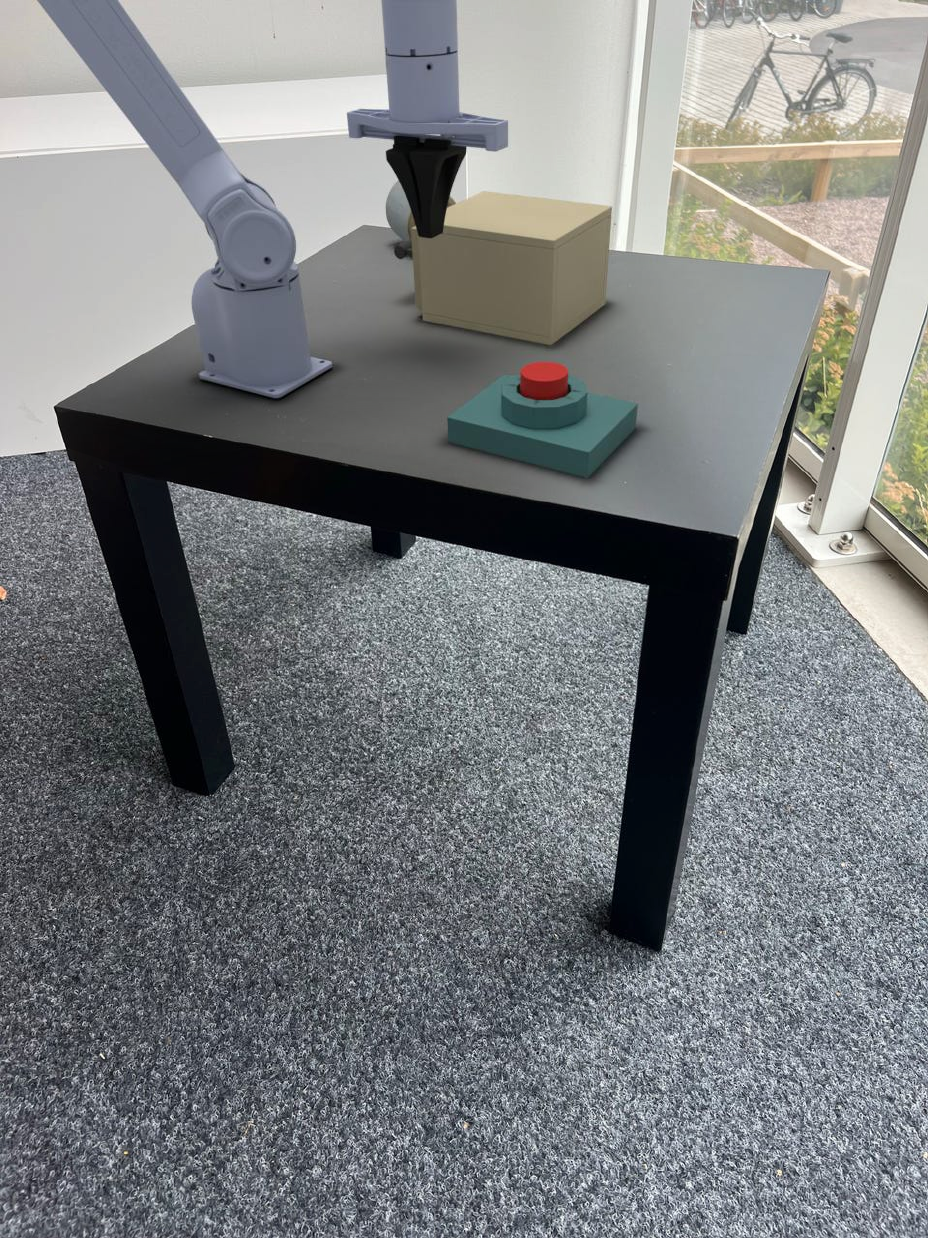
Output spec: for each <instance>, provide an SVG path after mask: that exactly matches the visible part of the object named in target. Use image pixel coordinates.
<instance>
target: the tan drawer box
mask: <svg viewBox="0 0 928 1238" xmlns="http://www.w3.org/2000/svg"><path fill="white" fill-rule="evenodd" d="M612 214H613V206H612V205H605V204H598V203H597V204H596V203H595V204H594V203H587V202H579V201H570V200H563V199H552V198H545V197H536V196H529V195H519V194H511V193H503V192H495V191H485V190H483V191H481V192H479V193H476V194H474V195H472V196H469V197H468V198H466V199H463V200H461V201H459V202H456V204H454V205H452V206H450V207H448V208H447V210H446V215H445V221H444V228H443V233H442V234H440V235H438V236H436V237H433V238H424V237H419V236H418V242H419V259H420V276H421V293H422V309H421V310H422V321H423V322H427V323H431V324H432V323H433V324H438V325H445V326H450V327H455V328H461V329H465V330H471V331H475V332H481V333H486V334H492V335H497V336H500V337H501V336H502V337H507V338H513V339H518V340H522V341H527V342H532V343H537V344H543V345H548V346H552V345H553V344H555V343H556V342H558V341H559V340H560V339H561V338H563V337H564V336H565V335H566V334H569V333H570V332H571V331H572V330H574V329H575V328H576V327H577V326H579V325H580V324H582V323H583V322H584V321H585V320H587V319H588V318H590V317H591V316H593V314H595V313H596V312H597V311H598V310H600V309H601V308H603V307H604V306H605V305H606V303H607V302H606V300H607V285H608V273H609V272H608V270H609V259H610V257H609V256H610V243H611V242H610V241H611V230H612Z"/></svg>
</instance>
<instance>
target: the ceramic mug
mask: <svg viewBox="0 0 928 1238" xmlns="http://www.w3.org/2000/svg"><path fill="white" fill-rule="evenodd" d="M454 204H457V202H456V201H455V200H454V198H453V197H452V196H451V195H450V197H449V201H448V205H447V208H448V207H450V206H452V205H454ZM385 217H386V220H387V223H388V226H389V227H390V229H391V230H392V232H393V233H394V234H395V235H397V237H399V238H400V239H402V240H403V242H405V241H407V240H409V239H411V228H412V227H415V226H416V225H415V222H414V219H413V215H412V212H411V209H410V206H409V203H408V200H407V198H406V195H405V193H404V190H403V188H402V186H401V184H400V182H399V180H398V179H397V181H396V182H395V183H394V184H393V186H392V187H391V188H390V190H389V192H388V194H387V197H386V201H385Z"/></svg>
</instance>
